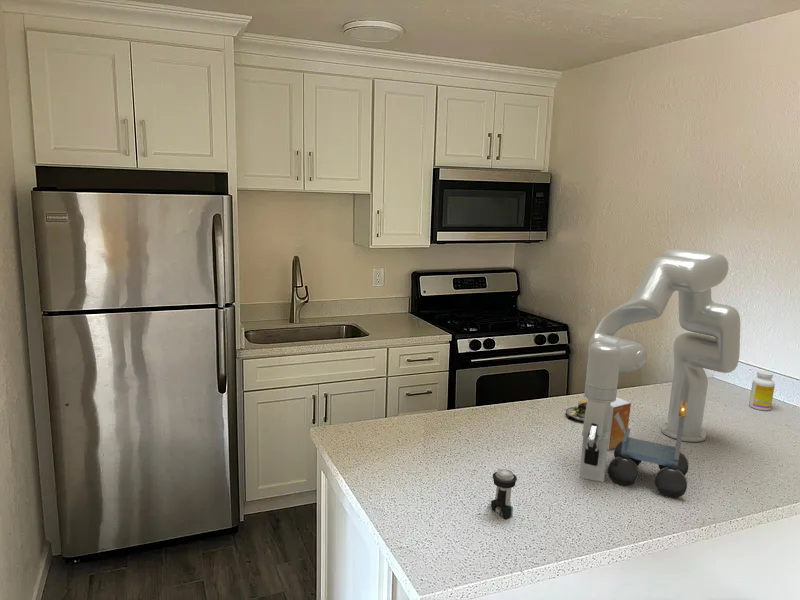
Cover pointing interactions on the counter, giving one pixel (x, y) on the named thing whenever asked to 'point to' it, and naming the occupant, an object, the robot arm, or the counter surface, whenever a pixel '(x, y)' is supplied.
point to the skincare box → (599, 470)
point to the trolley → (652, 461)
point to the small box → (617, 422)
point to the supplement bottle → (762, 391)
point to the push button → (503, 493)
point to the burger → (577, 411)
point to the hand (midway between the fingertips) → (593, 457)
